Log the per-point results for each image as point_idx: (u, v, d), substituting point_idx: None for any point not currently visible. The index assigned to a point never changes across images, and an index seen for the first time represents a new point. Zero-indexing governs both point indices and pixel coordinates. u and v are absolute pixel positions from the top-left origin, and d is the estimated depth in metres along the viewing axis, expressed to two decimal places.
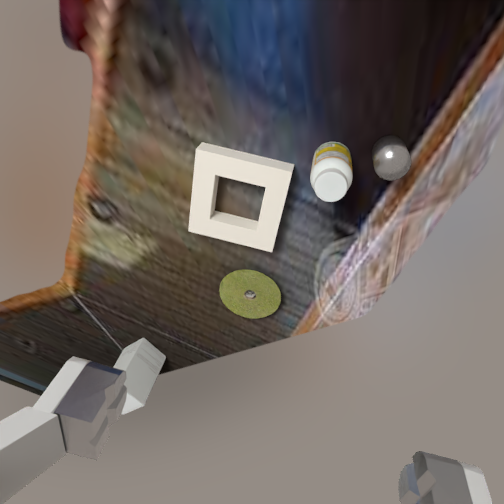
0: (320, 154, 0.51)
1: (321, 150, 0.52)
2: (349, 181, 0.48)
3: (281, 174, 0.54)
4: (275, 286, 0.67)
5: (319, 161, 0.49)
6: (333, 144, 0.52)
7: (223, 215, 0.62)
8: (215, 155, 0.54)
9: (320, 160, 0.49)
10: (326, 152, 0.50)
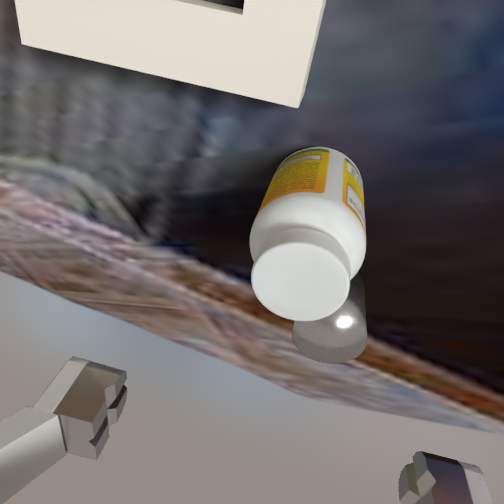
0: (357, 194, 0.19)
1: (357, 184, 0.20)
2: None
3: (290, 72, 0.17)
4: None
5: (356, 218, 0.17)
6: None
7: None
8: None
9: (358, 216, 0.17)
10: (363, 211, 0.19)
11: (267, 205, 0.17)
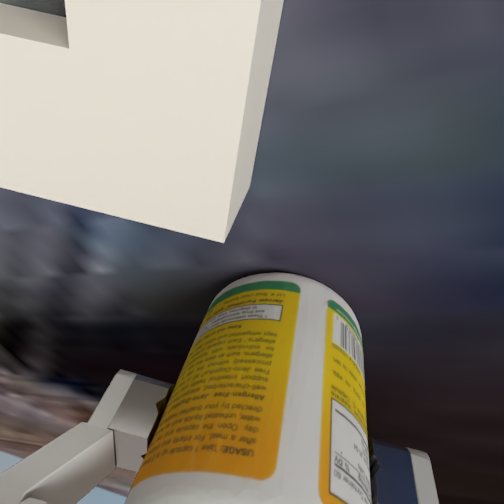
0: (352, 414, 0.09)
1: (352, 368, 0.10)
2: None
3: (198, 176, 0.08)
4: None
5: None
6: None
7: None
8: None
9: None
10: (366, 446, 0.09)
11: (147, 483, 0.07)
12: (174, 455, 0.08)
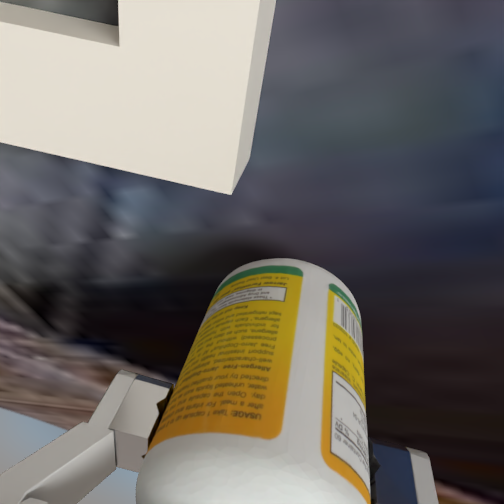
0: (351, 386, 0.10)
1: (352, 346, 0.11)
2: None
3: (212, 141, 0.10)
4: None
5: (352, 488, 0.08)
6: None
7: None
8: None
9: (354, 475, 0.08)
10: (365, 416, 0.10)
11: (163, 445, 0.08)
12: (188, 420, 0.08)
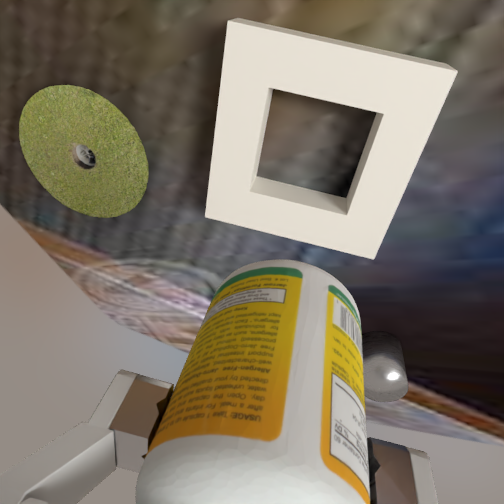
0: (351, 388, 0.10)
1: (351, 347, 0.11)
2: None
3: (371, 242, 0.30)
4: (123, 209, 0.34)
5: (351, 490, 0.08)
6: None
7: (268, 105, 0.28)
8: (432, 120, 0.24)
9: (354, 476, 0.08)
10: (364, 418, 0.10)
11: (162, 447, 0.08)
12: (187, 422, 0.08)
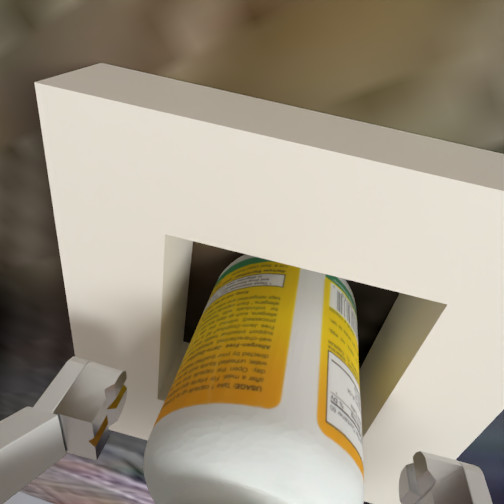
0: (346, 365, 0.10)
1: (347, 329, 0.11)
2: None
3: None
4: None
5: (345, 454, 0.08)
6: None
7: (186, 241, 0.13)
8: None
9: (348, 443, 0.08)
10: (358, 394, 0.10)
11: (169, 416, 0.09)
12: (193, 393, 0.09)
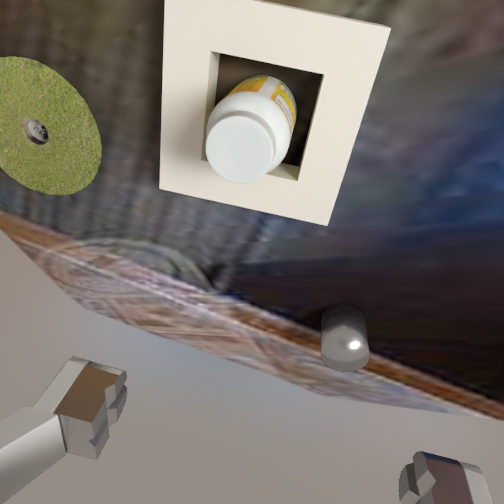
0: (285, 101, 0.25)
1: (288, 97, 0.26)
2: None
3: (323, 208, 0.30)
4: (79, 185, 0.34)
5: (281, 109, 0.23)
6: (295, 116, 0.28)
7: (215, 72, 0.28)
8: (371, 79, 0.25)
9: (282, 109, 0.23)
10: (291, 114, 0.25)
11: (217, 104, 0.24)
12: (225, 97, 0.24)
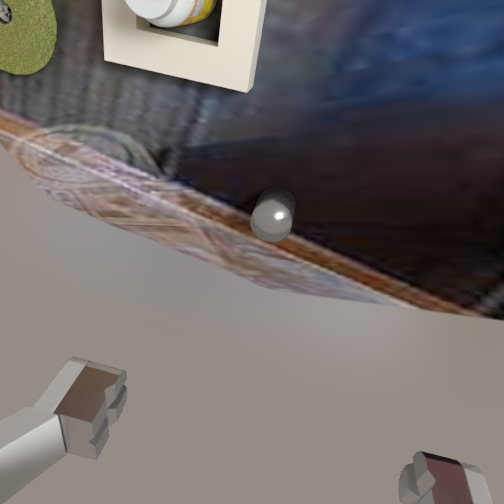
0: None
1: None
2: (162, 22, 0.30)
3: (241, 74, 0.35)
4: (40, 64, 0.39)
5: None
6: None
7: None
8: None
9: None
10: None
11: None
12: None
